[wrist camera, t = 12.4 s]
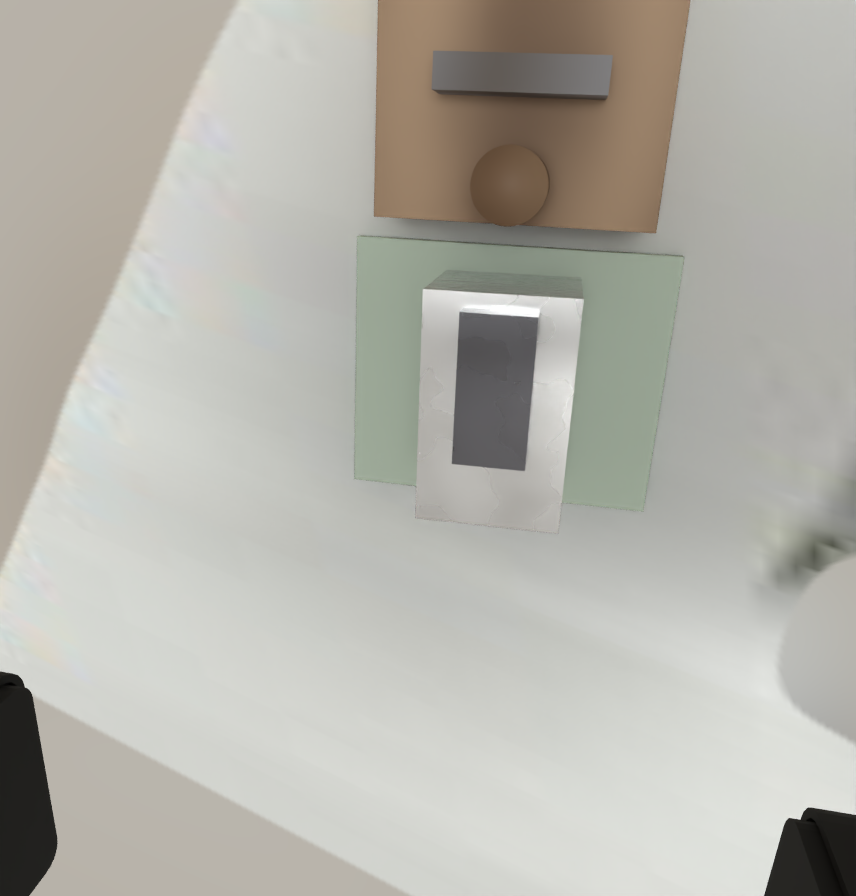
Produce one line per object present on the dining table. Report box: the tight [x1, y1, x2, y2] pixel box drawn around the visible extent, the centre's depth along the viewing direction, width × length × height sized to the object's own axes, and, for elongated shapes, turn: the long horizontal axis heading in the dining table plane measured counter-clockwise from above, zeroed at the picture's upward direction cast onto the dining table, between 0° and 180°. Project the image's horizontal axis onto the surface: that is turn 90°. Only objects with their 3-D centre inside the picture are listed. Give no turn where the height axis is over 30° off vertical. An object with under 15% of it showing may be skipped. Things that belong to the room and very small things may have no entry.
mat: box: [354, 236, 684, 512], centre depth 30 cm, size 12×10×1 cm
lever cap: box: [415, 270, 584, 534], centre depth 27 cm, size 5×8×6 cm, turn 178°
